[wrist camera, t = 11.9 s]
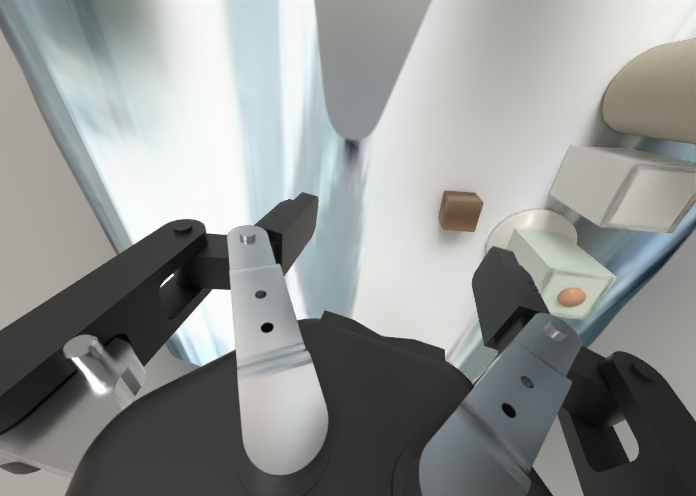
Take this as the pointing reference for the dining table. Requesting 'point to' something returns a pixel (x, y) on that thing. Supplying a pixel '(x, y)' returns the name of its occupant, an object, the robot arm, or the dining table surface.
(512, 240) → the pale grey boxy piece
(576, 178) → the tall white lidded box
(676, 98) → the travel mug
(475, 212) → the block
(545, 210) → the dish
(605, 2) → the dining table surface
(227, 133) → the dining table surface
